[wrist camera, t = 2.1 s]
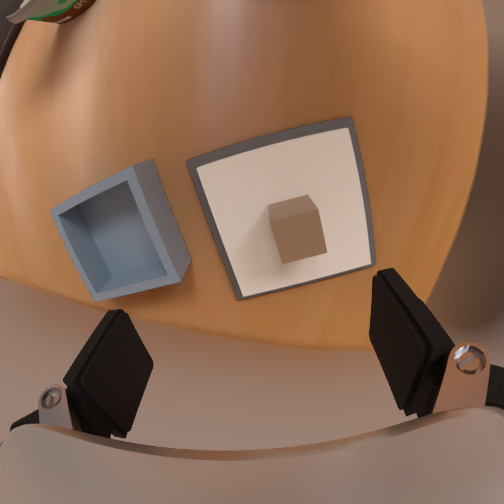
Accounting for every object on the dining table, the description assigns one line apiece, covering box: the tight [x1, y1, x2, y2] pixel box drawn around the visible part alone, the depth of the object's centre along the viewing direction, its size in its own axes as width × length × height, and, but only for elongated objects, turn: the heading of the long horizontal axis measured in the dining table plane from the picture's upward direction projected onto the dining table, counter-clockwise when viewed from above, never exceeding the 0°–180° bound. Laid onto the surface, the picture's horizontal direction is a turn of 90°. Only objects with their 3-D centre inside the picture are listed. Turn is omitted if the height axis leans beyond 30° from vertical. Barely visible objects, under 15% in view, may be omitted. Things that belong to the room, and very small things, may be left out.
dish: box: [50, 159, 192, 302], centre depth 27 cm, size 12×12×5 cm
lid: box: [196, 128, 371, 297], centre depth 25 cm, size 15×15×6 cm
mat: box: [186, 117, 376, 300], centre depth 28 cm, size 17×17×1 cm
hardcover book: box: [0, 0, 25, 77], centre depth 13 cm, size 16×23×2 cm
